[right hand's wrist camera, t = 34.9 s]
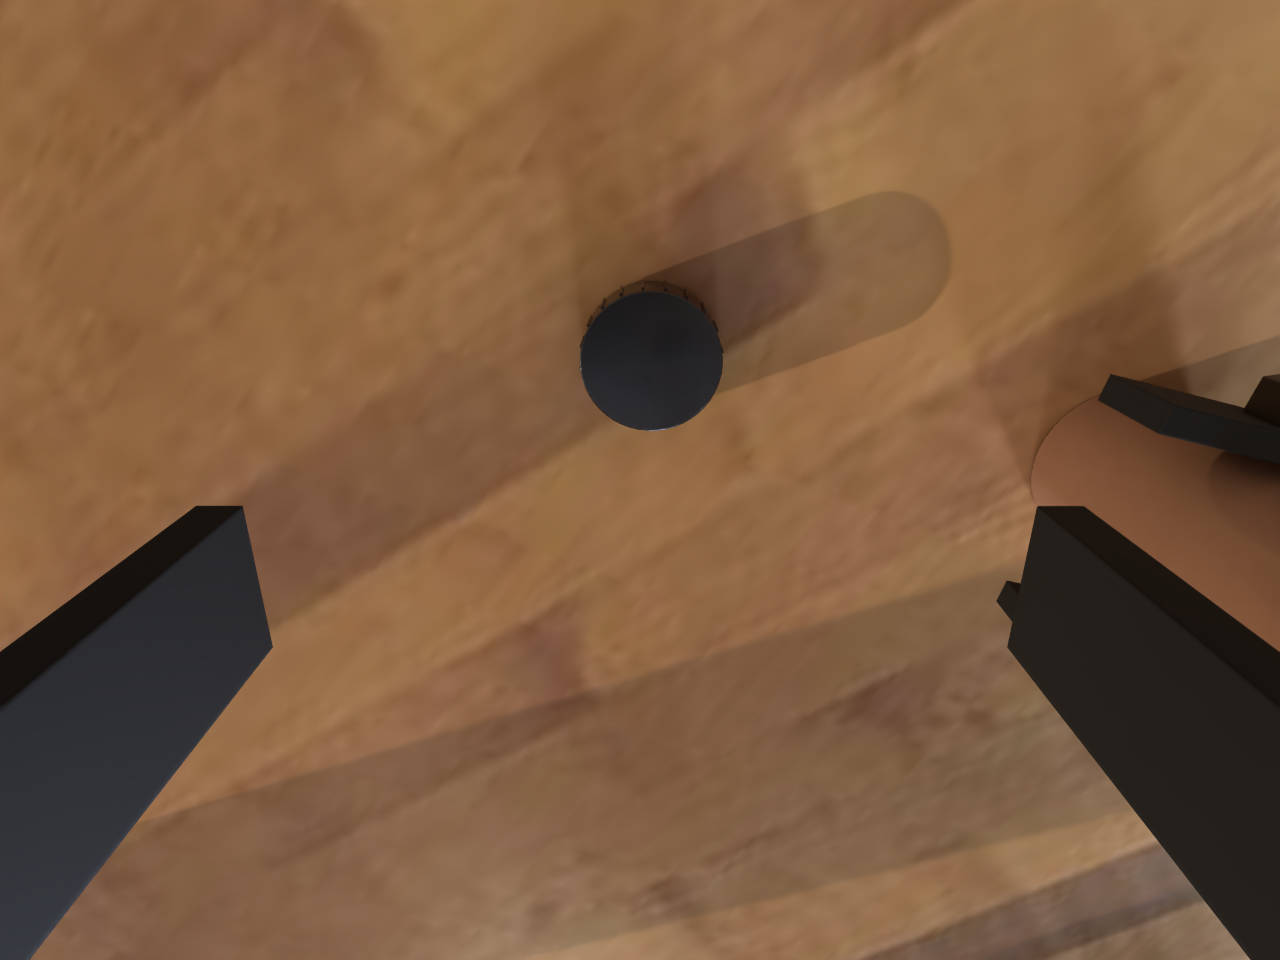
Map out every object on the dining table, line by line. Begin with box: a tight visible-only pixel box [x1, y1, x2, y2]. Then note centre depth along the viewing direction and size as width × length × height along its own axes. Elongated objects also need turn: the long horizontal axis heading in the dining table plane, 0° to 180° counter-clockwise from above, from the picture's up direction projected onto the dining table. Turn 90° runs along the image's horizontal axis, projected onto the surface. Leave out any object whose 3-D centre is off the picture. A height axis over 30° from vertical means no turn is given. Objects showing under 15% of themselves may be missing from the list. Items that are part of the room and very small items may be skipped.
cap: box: [580, 280, 723, 431], centre depth 24 cm, size 4×4×2 cm
